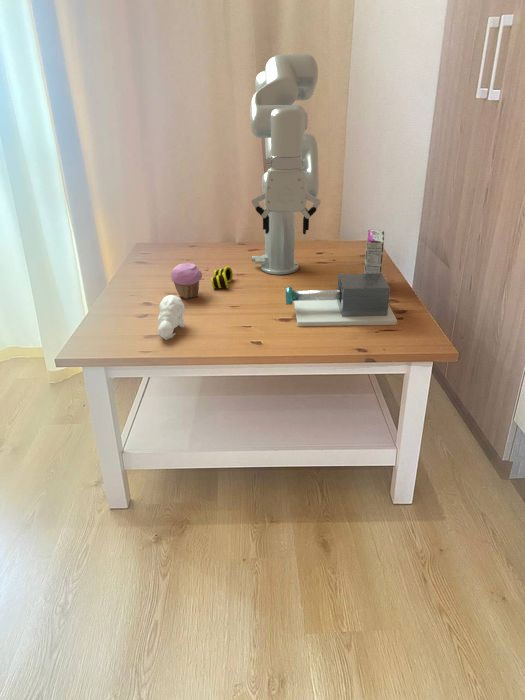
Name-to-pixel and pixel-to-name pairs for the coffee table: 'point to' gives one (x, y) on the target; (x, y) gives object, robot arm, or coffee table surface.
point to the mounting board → (335, 315)
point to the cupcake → (186, 279)
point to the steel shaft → (311, 295)
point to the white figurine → (170, 316)
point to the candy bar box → (374, 251)
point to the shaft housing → (363, 295)
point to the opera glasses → (222, 278)
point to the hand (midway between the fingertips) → (285, 232)
